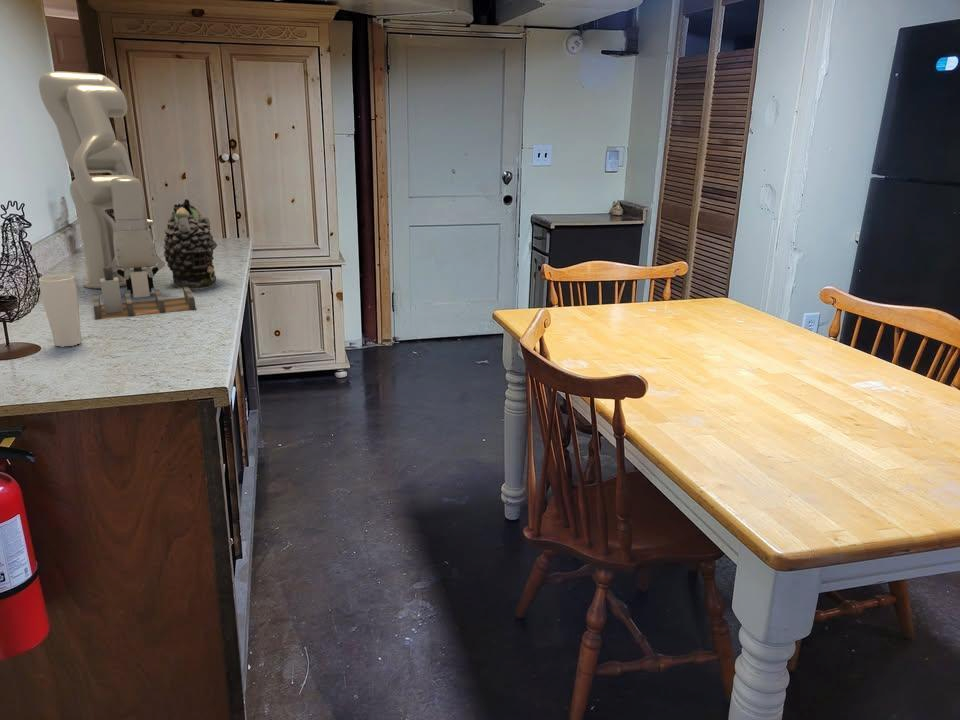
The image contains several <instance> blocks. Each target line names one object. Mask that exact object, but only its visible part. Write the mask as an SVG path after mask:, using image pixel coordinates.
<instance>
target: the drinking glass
mask: <svg viewBox="0 0 960 720" xmlns="http://www.w3.org/2000/svg"><path fill="white" fill-rule="evenodd" d="M38 283H39V291H40V292H39V293H40V296H41V301H42V305H43V307H44V310H45V314H46V318H47V321H48V324H49V328H50V332H51V335H52V340H53V344H54V345H55V346H56V347H57V346H62V347H61V348H64V347H63V346H72V347H75V346H74V345H76V346H78V345H77V344H79V345H80V344H82V341H83V340H82V331H81V318H80V308H79V305H80V304H79V295H78V288H77V282H76V278H75V276H74V275H73V274H72V275H71V274H54V275H53V274H52V275H47V276H42V277H40V278H38Z"/></svg>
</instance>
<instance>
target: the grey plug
mask: <svg viewBox="0 0 960 720" xmlns="http://www.w3.org/2000/svg"><path fill="white" fill-rule="evenodd" d="M103 272H104V278H102V279H100V282H101V288H100V289H101V292H102V293H101V294H102V302H103V305H104V307H105V313H112V312H123V307H122V303H123V301H122V295H121V289H120V288H121V286H120V287H119V281H118V277H115V278H113V271H112V267H104V268H103Z"/></svg>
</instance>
